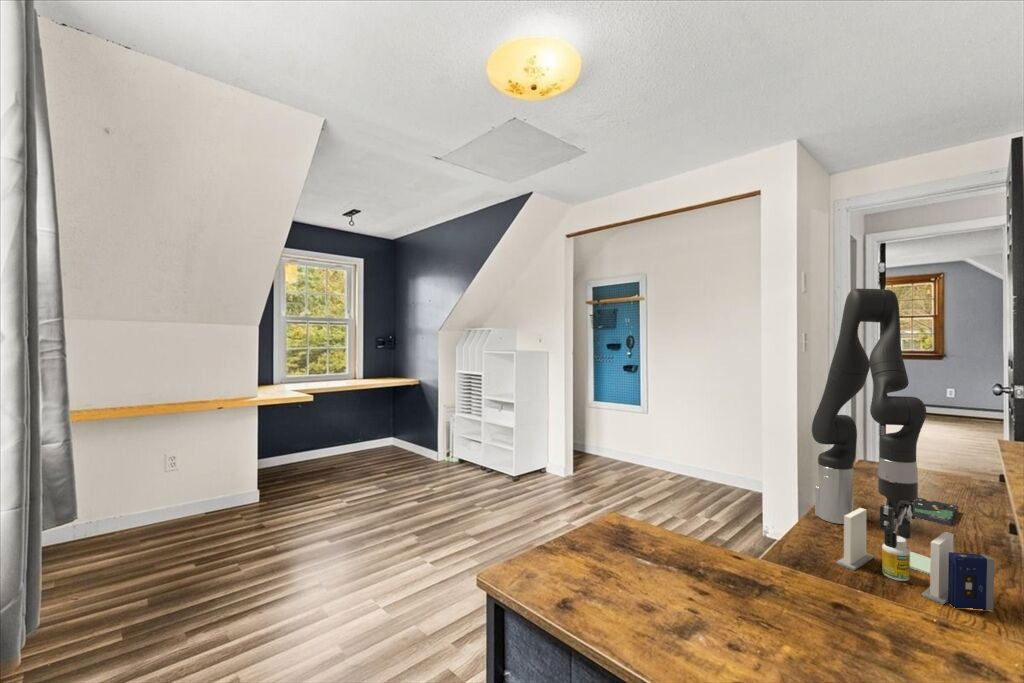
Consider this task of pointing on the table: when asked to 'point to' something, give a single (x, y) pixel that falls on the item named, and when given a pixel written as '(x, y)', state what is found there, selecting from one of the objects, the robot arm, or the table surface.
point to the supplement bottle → (896, 561)
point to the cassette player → (971, 581)
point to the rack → (858, 556)
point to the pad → (920, 562)
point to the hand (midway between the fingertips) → (897, 542)
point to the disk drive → (935, 511)
